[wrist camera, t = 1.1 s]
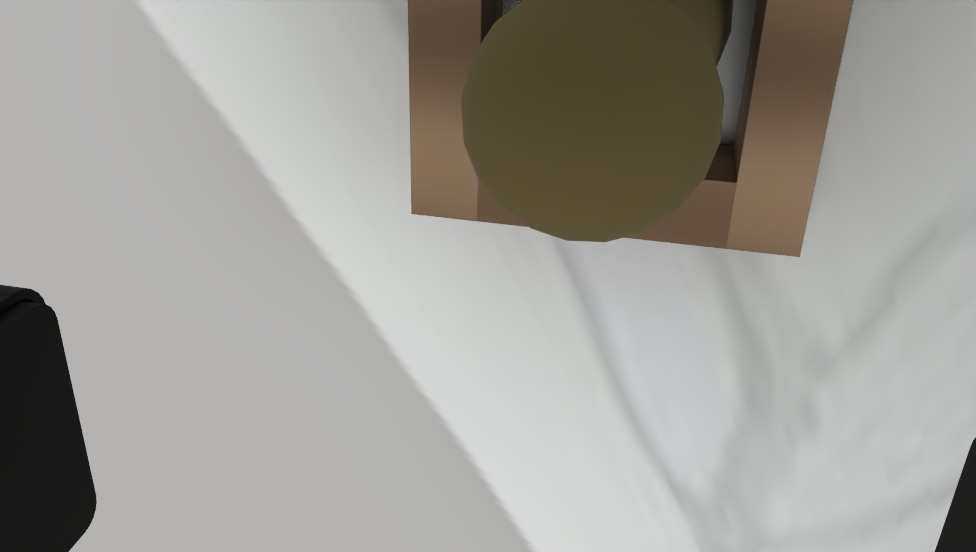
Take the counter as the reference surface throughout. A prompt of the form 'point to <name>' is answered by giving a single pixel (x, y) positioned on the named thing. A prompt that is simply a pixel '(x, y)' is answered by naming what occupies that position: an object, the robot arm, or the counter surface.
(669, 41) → the cork
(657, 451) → the counter surface
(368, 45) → the counter surface
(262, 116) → the counter surface
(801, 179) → the socket block
